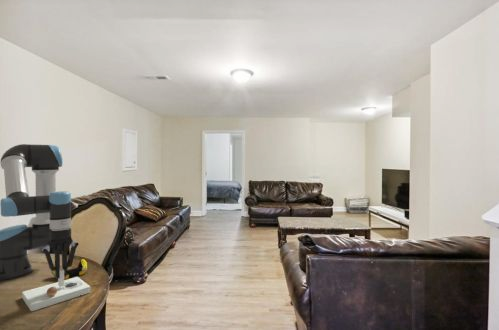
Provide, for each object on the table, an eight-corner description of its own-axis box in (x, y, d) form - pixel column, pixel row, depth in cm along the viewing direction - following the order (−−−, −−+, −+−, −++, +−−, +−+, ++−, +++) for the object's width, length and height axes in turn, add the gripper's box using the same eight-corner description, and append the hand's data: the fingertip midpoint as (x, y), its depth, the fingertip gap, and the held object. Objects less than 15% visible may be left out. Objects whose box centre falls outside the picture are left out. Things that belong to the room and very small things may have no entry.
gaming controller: (50, 277, 134) (55, 283, 127) (50, 265, 134) (55, 271, 127) (85, 268, 145) (91, 273, 138) (85, 257, 145) (91, 262, 138)
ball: (63, 289, 118) (67, 281, 119) (72, 290, 121) (75, 281, 122) (66, 292, 116) (69, 283, 117) (75, 292, 118) (78, 283, 119)
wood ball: (45, 296, 109) (45, 287, 109) (55, 293, 111) (55, 284, 111) (47, 298, 107) (47, 289, 107) (58, 295, 109) (58, 286, 109)
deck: (22, 297, 113) (22, 291, 113) (77, 282, 128) (77, 276, 128) (31, 311, 102) (31, 304, 102) (90, 292, 117) (90, 286, 117)
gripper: (43, 233, 109) (44, 293, 109) (81, 227, 118) (81, 282, 118) (39, 230, 114) (39, 287, 114) (75, 224, 123) (75, 277, 123)
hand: (61, 285), depth 116 cm, fingers closed
